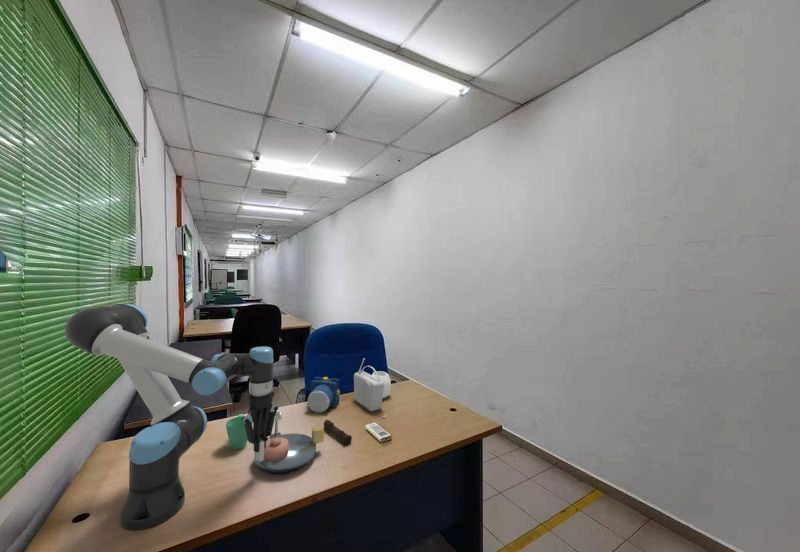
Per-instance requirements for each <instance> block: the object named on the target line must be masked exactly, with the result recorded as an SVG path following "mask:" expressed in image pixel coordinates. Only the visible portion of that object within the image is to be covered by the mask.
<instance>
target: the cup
mask: <svg viewBox="0 0 800 552" xmlns="http://www.w3.org/2000/svg"><path fill="white" fill-rule="evenodd" d="M376 372H377V374H378V376H379V378H380V380H381V381H383V383H384V390H383V398H382V400H384V399H386V398H388V396H389V395H390V393H391V390H392V383H391V382H392V381H391V377H390V376H389V374H388V373H387V372H385V371H382V370H381V371H376ZM371 375H372V376H374V377H375V378H377V379H378V377H377V375H376V373H375V371H373V373H372V374H371Z"/></svg>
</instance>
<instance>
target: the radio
mask: <svg viewBox="0 0 800 552" xmlns="http://www.w3.org/2000/svg"><path fill="white" fill-rule="evenodd" d="M365 359H366V358H364V357H363V359H362V362H361V365H360V367H359V370H358V371H357V372H355V373H354V374H353V388H354V389H353V391H354V400H355V401H356V402H357V403H358V404H359V405H361V406H362V407H364V408H365V409H367V410H368V411H369V412H375V411H378V410H381V409H382V405H383V399H384V398H383V390H384V383H383V381H381V380H380V378H379V376H378V374H377V372H378V371H377V370H376V369H375V368H374V367H373V366H371V365H366V366H363V363H364V361H365ZM362 366H363V368H362ZM365 368H371V369H372V370H373V372H375V373H376V375H377V377H378V379H377V378H375V377H374V376H372V374H370V373H368V372H366V371H364V370H365ZM382 398H383V399H382Z"/></svg>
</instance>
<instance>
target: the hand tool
mask: <svg viewBox="0 0 800 552" xmlns="http://www.w3.org/2000/svg"><path fill="white" fill-rule="evenodd" d="M323 428H324V431H325V432H326V433H327V434H331V435H332V436H333V437H335V438H336V440H338V441H340V442H341V443H343V446H344V447H346V446H348V445H350V444H351V443H352V438H353V437H352V435H350V434H347V433H346V432H345V431H344V430H342V429H340V428H339V427H337V426H335V425H334V423H333V422H332V421H331V420H329V419H326V420H325V421H324V422H323Z"/></svg>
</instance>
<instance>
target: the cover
mask: <svg viewBox="0 0 800 552" xmlns="http://www.w3.org/2000/svg"><path fill="white" fill-rule="evenodd" d="M269 439H270V438H269ZM288 444H289V442H288V440H287V439H285V438H278V437H276V438H273V439H270V440H267V441H266V448H265V449H264V461H266V462H277V461H280V460H282V459H284V458H285V457H286V456H287V455H288Z"/></svg>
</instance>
